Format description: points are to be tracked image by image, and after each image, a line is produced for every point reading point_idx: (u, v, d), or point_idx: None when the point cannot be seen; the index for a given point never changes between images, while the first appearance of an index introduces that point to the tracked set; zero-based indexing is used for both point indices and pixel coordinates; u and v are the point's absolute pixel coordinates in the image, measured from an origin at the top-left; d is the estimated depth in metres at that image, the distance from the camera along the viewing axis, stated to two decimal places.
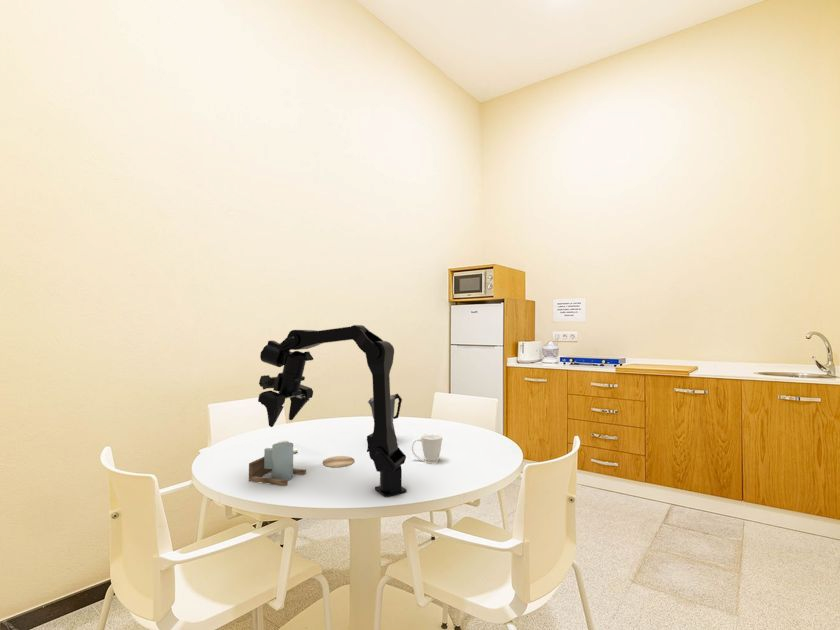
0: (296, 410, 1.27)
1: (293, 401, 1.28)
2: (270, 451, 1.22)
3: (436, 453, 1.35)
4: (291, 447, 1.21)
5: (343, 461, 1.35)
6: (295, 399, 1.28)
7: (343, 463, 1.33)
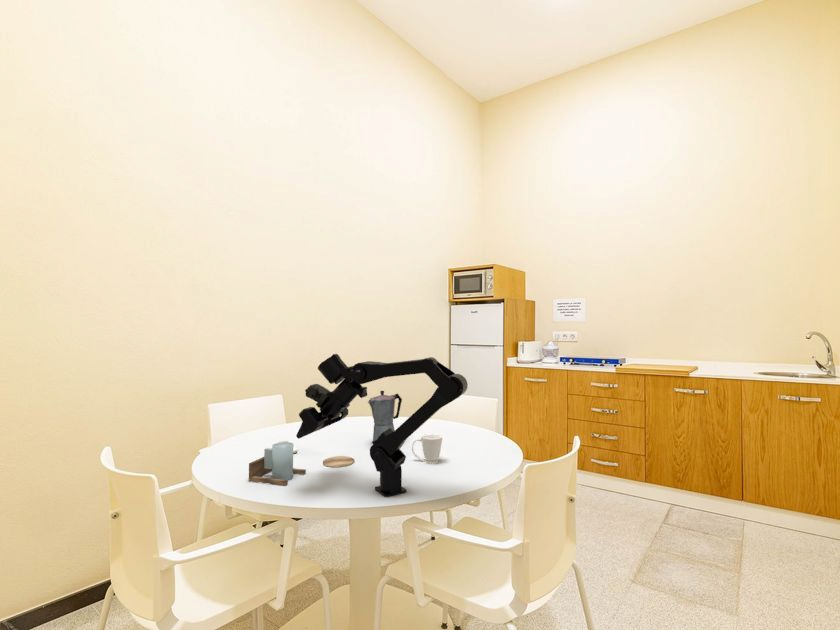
0: (325, 425, 1.23)
1: None
2: (270, 451, 1.22)
3: (436, 453, 1.35)
4: (291, 447, 1.21)
5: (343, 461, 1.35)
6: None
7: (343, 463, 1.33)
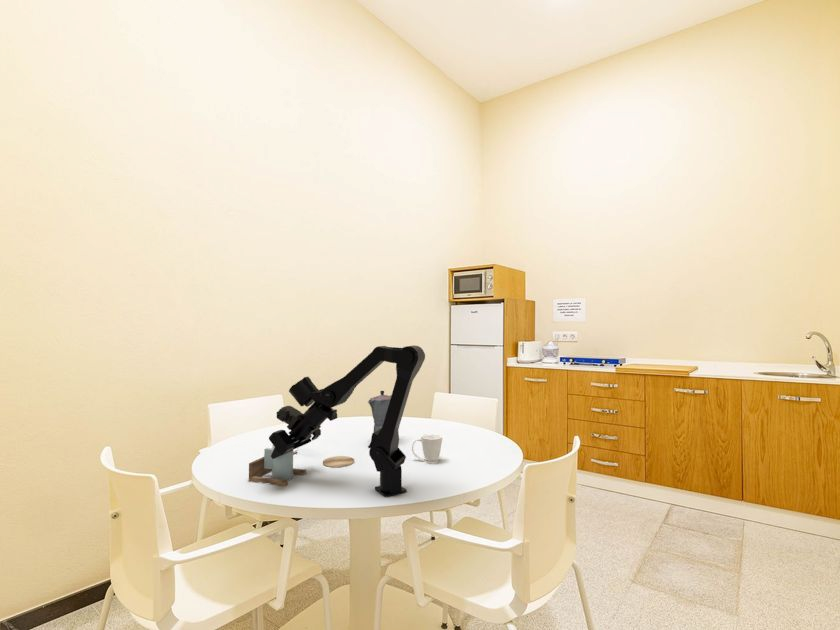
0: (294, 447, 1.24)
1: None
2: (270, 451, 1.22)
3: (436, 453, 1.35)
4: None
5: (343, 461, 1.35)
6: None
7: (343, 463, 1.33)
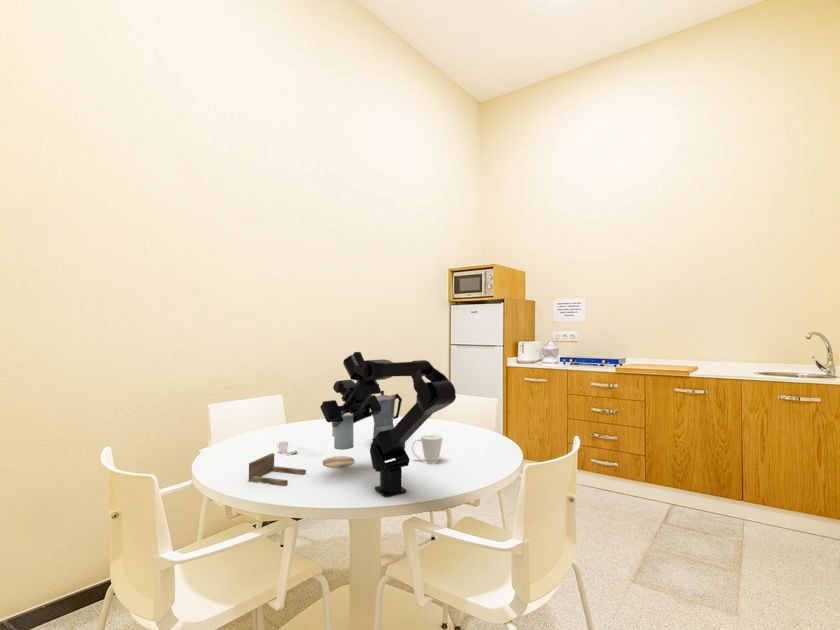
0: (356, 419, 1.30)
1: None
2: None
3: (436, 453, 1.35)
4: (348, 418, 1.28)
5: (343, 461, 1.35)
6: None
7: (343, 463, 1.33)
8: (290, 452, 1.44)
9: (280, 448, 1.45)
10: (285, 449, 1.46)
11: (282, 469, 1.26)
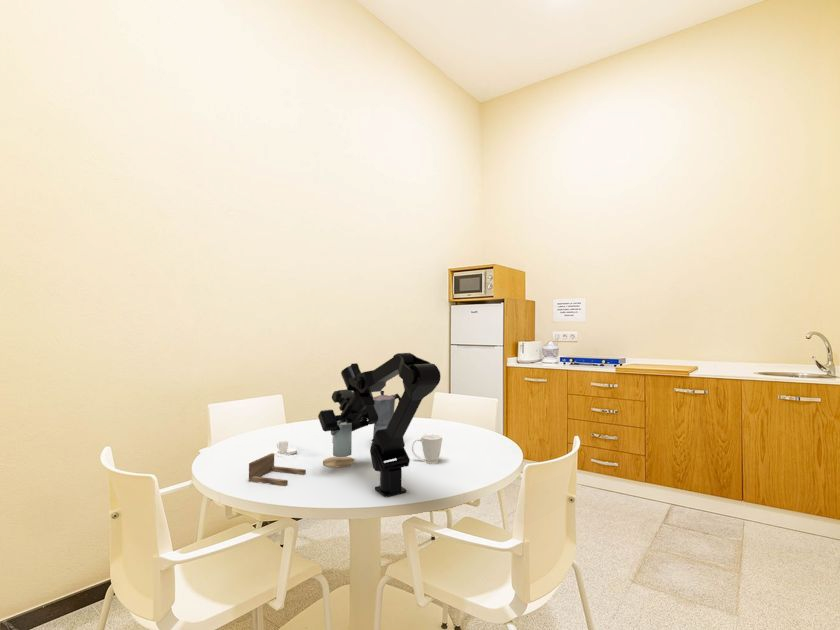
0: (354, 428, 1.35)
1: None
2: None
3: (436, 453, 1.35)
4: (346, 427, 1.32)
5: (343, 461, 1.35)
6: None
7: (343, 463, 1.33)
8: (290, 452, 1.44)
9: (280, 448, 1.45)
10: (285, 449, 1.46)
11: (282, 469, 1.26)
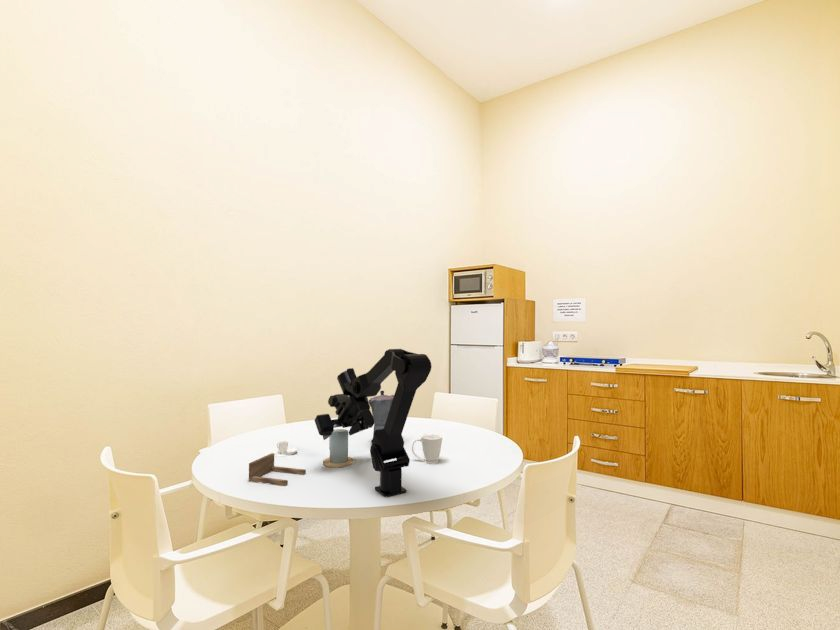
0: (354, 431, 1.38)
1: None
2: None
3: (436, 453, 1.35)
4: (343, 434, 1.34)
5: None
6: (357, 422, 1.37)
7: (343, 463, 1.33)
8: (290, 452, 1.44)
9: (280, 448, 1.45)
10: (285, 449, 1.45)
11: (282, 469, 1.26)
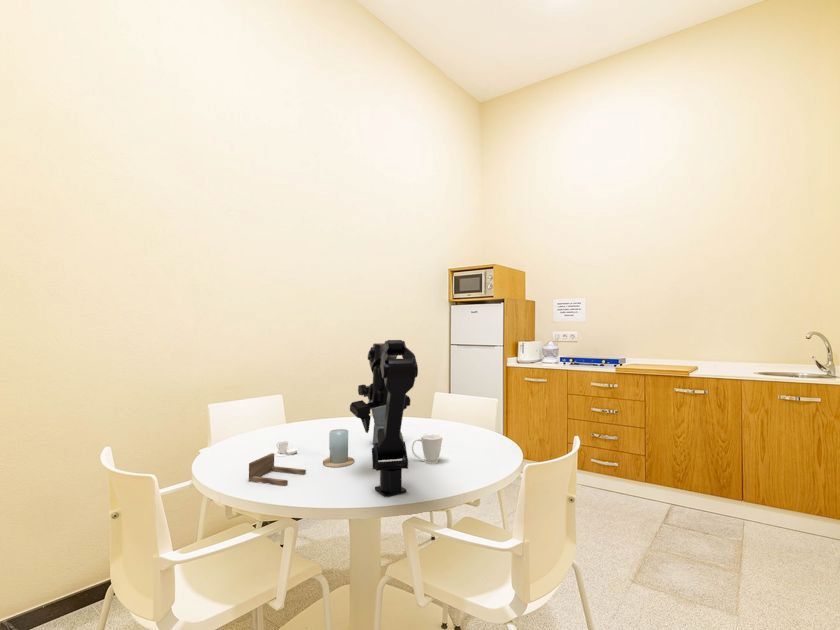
0: None
1: None
2: None
3: (436, 453, 1.35)
4: (343, 434, 1.34)
5: None
6: None
7: (343, 463, 1.33)
8: (290, 452, 1.44)
9: (280, 448, 1.45)
10: (285, 449, 1.45)
11: (282, 469, 1.26)
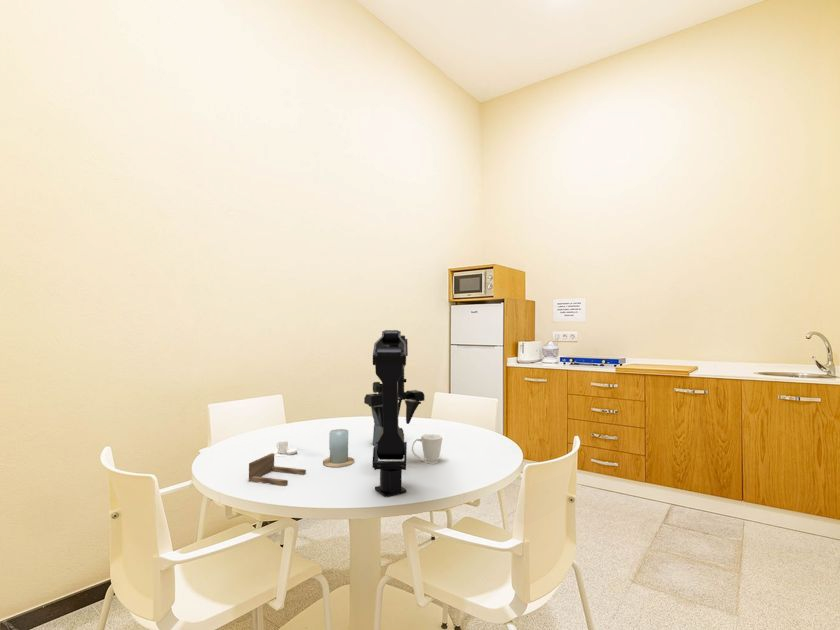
0: (409, 413, 1.33)
1: (407, 405, 1.35)
2: None
3: (436, 453, 1.35)
4: (343, 434, 1.34)
5: None
6: (408, 403, 1.34)
7: (343, 463, 1.33)
8: (290, 452, 1.44)
9: (280, 448, 1.45)
10: (285, 449, 1.45)
11: (282, 469, 1.26)
